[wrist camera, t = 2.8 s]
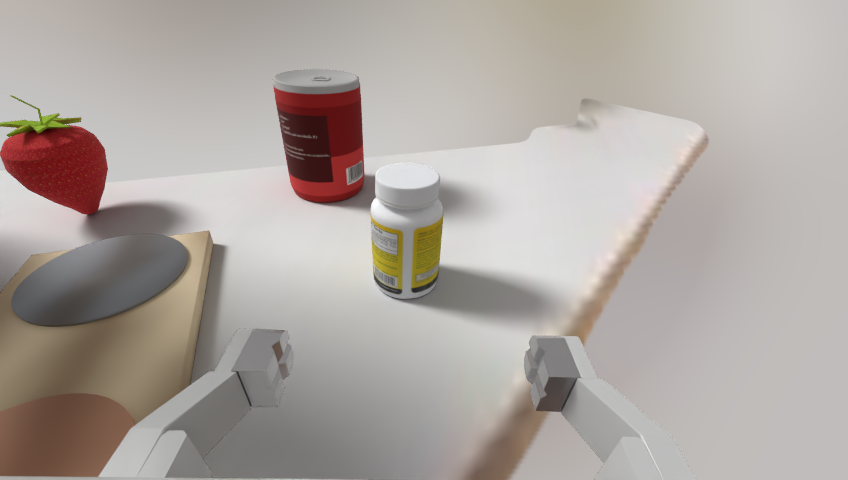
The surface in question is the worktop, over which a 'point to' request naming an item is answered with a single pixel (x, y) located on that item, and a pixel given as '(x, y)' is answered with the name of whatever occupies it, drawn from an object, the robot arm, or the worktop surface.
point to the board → (95, 347)
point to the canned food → (321, 132)
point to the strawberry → (57, 161)
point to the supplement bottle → (406, 229)
